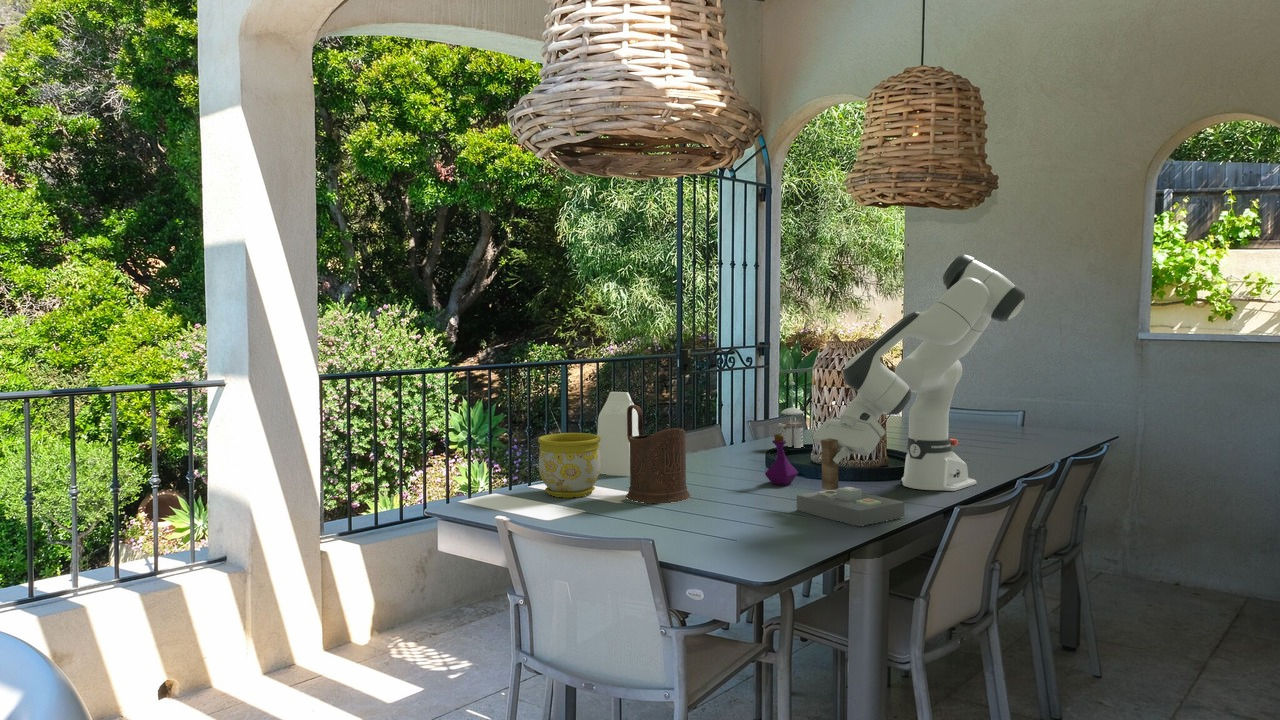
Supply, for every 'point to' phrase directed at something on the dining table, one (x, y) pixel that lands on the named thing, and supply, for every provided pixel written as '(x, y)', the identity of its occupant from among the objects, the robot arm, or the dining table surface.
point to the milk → (616, 434)
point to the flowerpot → (569, 463)
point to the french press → (792, 427)
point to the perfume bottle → (781, 463)
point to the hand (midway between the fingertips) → (828, 460)
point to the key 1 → (829, 493)
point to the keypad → (850, 508)
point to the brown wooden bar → (829, 464)
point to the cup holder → (656, 463)
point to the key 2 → (868, 502)
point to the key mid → (849, 494)
